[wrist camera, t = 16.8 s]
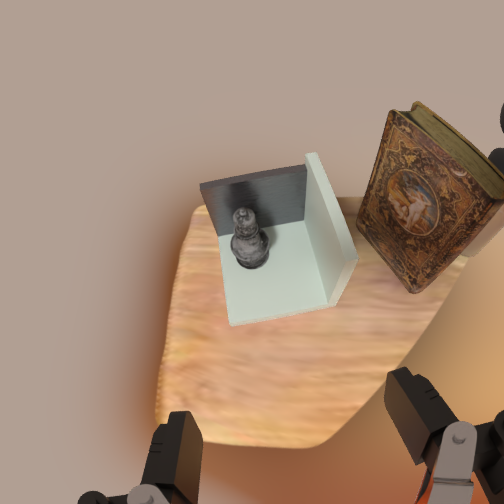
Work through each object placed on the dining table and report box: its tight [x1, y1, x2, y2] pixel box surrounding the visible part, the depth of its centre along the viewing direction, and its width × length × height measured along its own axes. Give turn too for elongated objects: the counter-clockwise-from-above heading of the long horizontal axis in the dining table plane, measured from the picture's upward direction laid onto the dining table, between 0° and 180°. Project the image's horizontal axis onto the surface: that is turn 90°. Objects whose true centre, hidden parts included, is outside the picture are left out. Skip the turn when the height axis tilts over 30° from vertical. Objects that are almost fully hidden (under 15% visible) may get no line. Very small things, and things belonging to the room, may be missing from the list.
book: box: [356, 101, 504, 294], centre depth 35 cm, size 16×6×25 cm, turn 30°
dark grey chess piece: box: [230, 207, 270, 270], centre depth 41 cm, size 6×6×12 cm
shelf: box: [200, 152, 359, 327], centre depth 40 cm, size 16×16×16 cm
